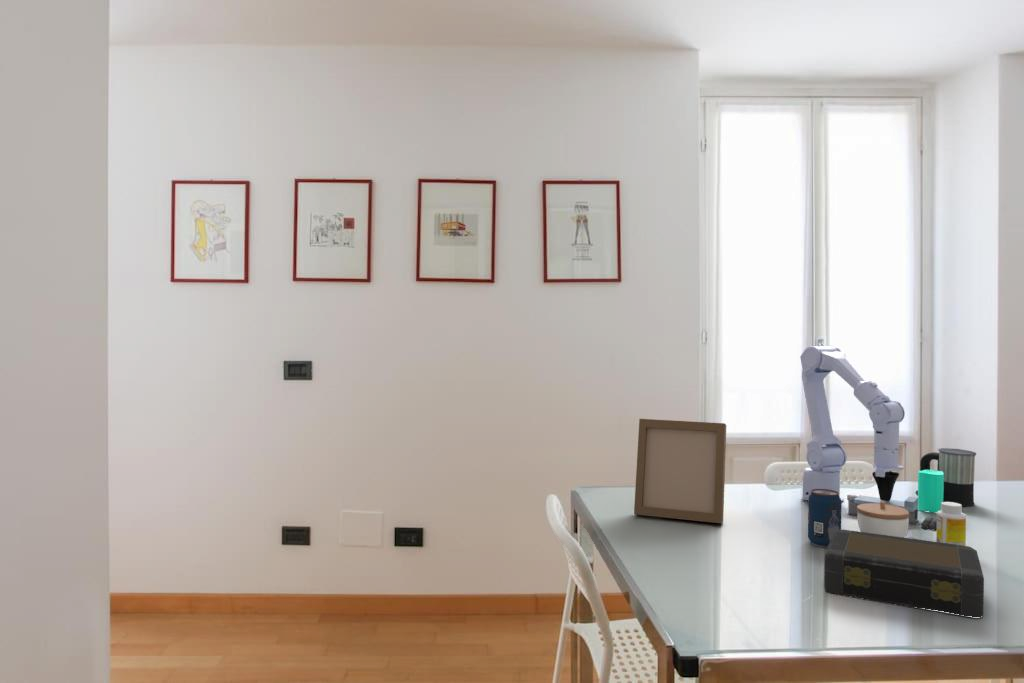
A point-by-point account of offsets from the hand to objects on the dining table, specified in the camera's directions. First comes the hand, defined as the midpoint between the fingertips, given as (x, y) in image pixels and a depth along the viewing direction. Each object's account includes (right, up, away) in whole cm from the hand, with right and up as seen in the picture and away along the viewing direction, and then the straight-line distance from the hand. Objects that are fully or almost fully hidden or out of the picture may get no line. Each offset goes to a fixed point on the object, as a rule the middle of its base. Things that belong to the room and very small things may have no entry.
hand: (885, 500), depth 184 cm
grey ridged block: (+9, -3, -7) cm, 12 cm away
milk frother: (+25, -5, +15) cm, 29 cm away
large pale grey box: (0, -5, 0) cm, 5 cm away
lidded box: (-1, -1, 0) cm, 2 cm away
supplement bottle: (+1, -5, -26) cm, 27 cm away
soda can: (-26, -5, -23) cm, 35 cm away
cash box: (-23, -6, -50) cm, 55 cm away
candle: (+16, -5, +8) cm, 19 cm away
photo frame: (-53, -4, +1) cm, 53 cm away
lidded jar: (-12, -5, -21) cm, 25 cm away
